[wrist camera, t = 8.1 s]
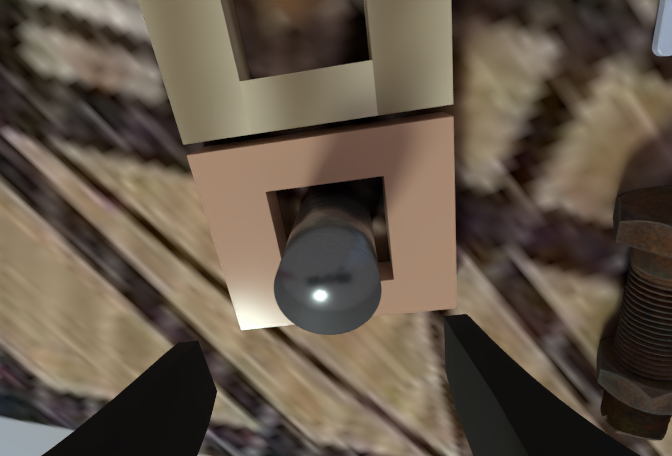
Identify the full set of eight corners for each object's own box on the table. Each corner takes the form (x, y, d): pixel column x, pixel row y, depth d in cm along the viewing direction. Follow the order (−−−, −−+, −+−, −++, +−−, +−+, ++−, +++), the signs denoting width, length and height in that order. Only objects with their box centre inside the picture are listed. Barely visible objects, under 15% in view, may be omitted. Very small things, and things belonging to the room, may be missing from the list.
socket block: (442, 111, 17) (453, 116, 16) (447, 287, 21) (457, 307, 20) (202, 147, 18) (186, 155, 17) (249, 308, 22) (241, 329, 21)
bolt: (583, 376, 26) (615, 180, 20) (676, 400, 24) (747, 182, 17) (581, 447, 22) (622, 227, 16) (695, 486, 19) (799, 240, 13)
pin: (366, 179, 19) (375, 236, 12) (374, 247, 20) (386, 329, 14) (291, 190, 19) (262, 250, 13) (304, 256, 21) (285, 339, 14)
